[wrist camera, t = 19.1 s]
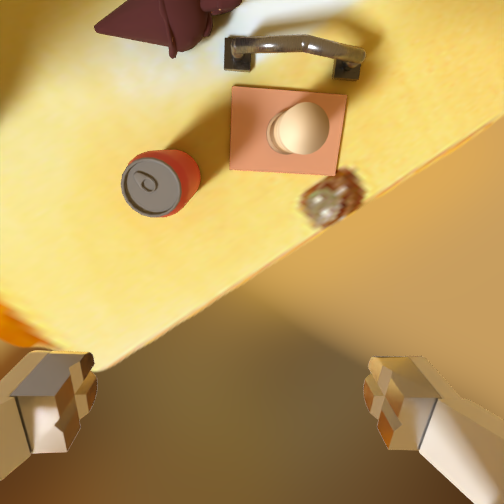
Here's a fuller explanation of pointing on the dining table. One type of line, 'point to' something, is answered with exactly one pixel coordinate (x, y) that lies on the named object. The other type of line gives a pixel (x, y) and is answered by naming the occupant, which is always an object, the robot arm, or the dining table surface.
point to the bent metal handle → (343, 55)
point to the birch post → (298, 129)
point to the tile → (255, 126)
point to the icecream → (165, 21)
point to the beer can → (160, 182)
